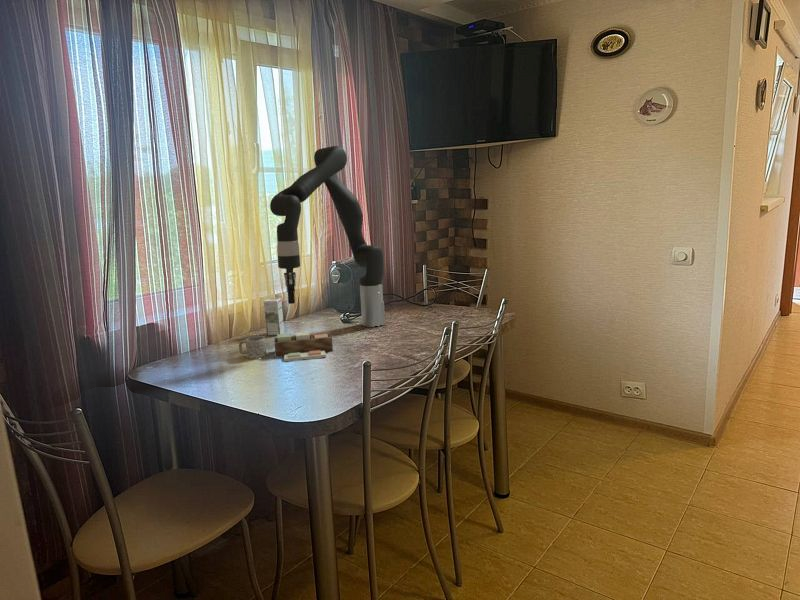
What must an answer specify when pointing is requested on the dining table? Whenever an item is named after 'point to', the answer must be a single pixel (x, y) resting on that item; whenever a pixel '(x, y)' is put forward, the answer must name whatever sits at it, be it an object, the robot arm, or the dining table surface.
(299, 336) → the grey key
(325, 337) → the terracotta key
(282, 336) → the sage key
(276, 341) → the brown wooden frame
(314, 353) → the card
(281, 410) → the dining table surface
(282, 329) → the syrup box
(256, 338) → the mug
